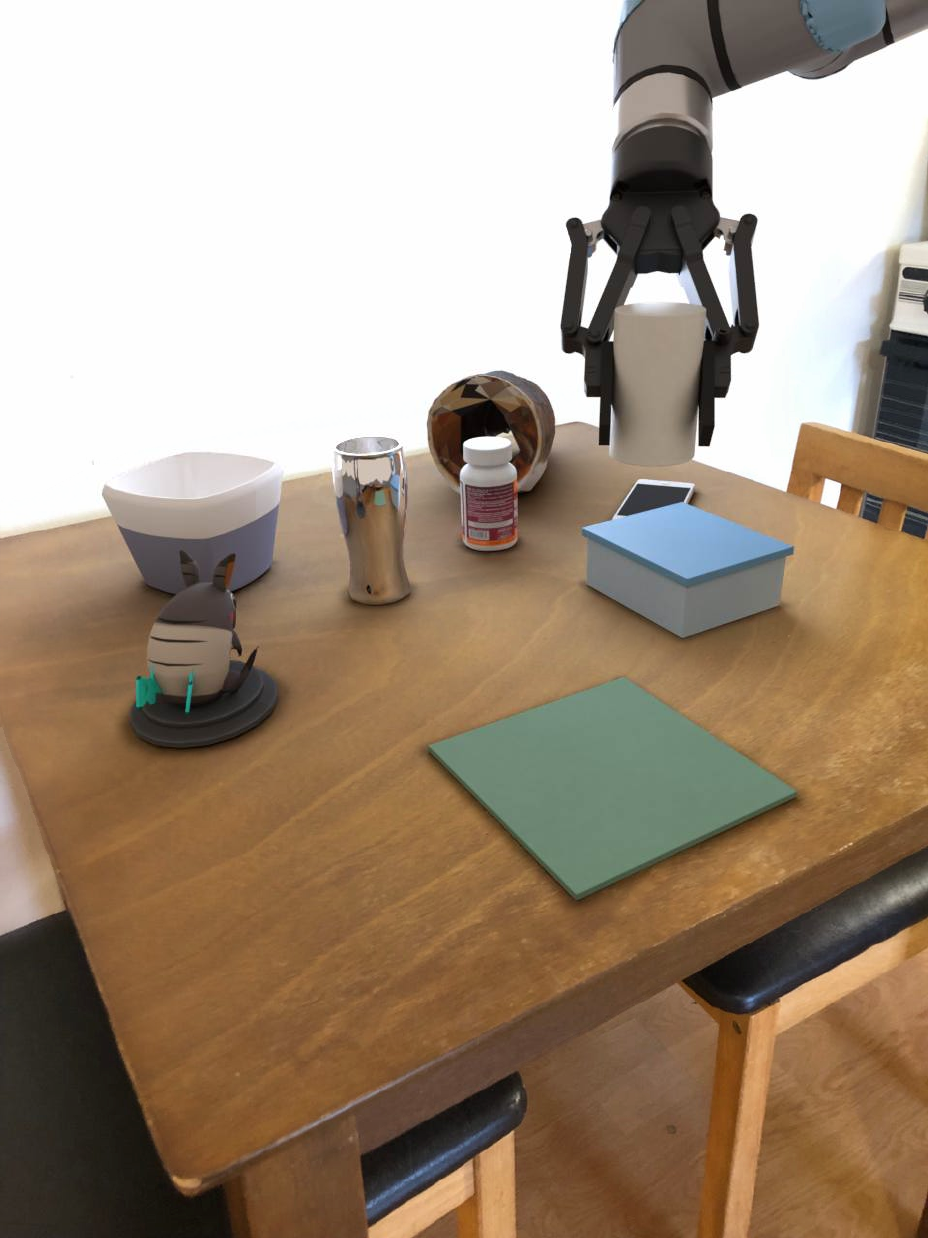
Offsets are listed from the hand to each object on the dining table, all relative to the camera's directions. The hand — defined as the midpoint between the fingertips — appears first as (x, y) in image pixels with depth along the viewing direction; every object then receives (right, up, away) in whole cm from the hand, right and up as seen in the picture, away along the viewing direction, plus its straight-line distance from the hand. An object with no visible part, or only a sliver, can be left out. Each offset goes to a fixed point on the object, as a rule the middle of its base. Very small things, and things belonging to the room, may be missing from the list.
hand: (655, 435), depth 62 cm
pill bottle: (-10, -4, +41) cm, 43 cm away
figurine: (-33, -20, +12) cm, 40 cm away
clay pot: (-7, +7, +64) cm, 64 cm away
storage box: (+8, -10, +28) cm, 30 cm away
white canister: (+1, -1, +4) cm, 4 cm away
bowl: (-39, -8, +36) cm, 54 cm away
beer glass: (-21, -10, +30) cm, 38 cm away
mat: (-3, -23, +2) cm, 23 cm away
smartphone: (+10, +1, +49) cm, 50 cm away
